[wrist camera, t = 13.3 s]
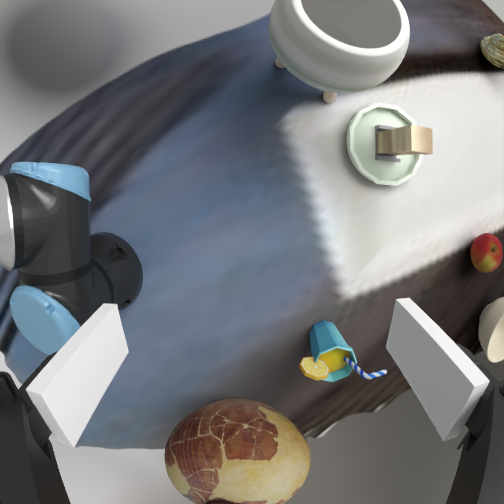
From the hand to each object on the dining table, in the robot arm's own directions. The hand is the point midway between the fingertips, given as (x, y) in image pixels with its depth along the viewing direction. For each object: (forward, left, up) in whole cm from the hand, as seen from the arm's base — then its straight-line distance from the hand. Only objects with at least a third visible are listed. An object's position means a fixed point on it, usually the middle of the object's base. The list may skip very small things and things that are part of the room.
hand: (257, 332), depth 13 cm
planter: (+9, +25, -36) cm, 45 cm away
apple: (+46, -6, -36) cm, 59 cm away
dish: (+21, +12, -36) cm, 44 cm away
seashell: (+53, +39, -36) cm, 76 cm away
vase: (-4, -45, -36) cm, 58 cm away
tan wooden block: (+21, +12, -35) cm, 43 cm away
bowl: (+57, -23, -36) cm, 72 cm away
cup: (+13, -23, -36) cm, 45 cm away
